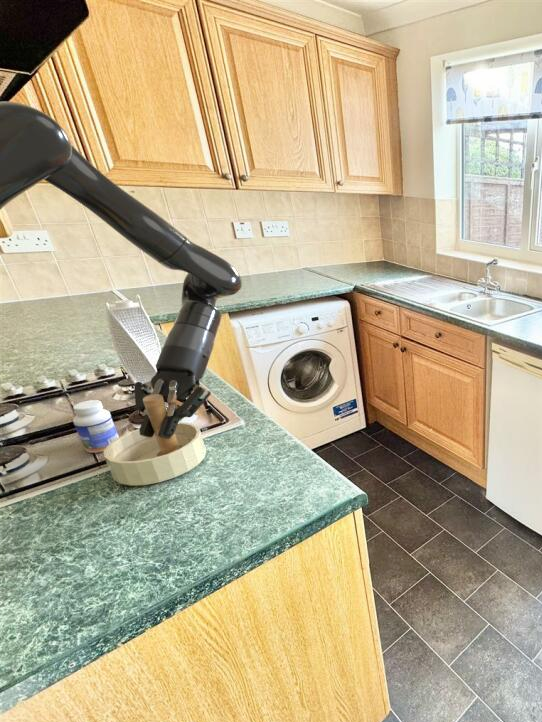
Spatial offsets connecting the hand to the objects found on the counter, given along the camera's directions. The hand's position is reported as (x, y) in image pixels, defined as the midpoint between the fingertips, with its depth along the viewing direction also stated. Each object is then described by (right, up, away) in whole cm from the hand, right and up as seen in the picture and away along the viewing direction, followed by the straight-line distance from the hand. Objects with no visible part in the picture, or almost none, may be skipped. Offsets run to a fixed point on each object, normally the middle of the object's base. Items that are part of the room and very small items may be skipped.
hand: (155, 436), depth 77 cm
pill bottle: (-18, -3, +9) cm, 21 cm away
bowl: (-3, -6, +5) cm, 8 cm away
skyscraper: (-18, +3, +23) cm, 29 cm away
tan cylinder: (0, -4, +4) cm, 6 cm away
